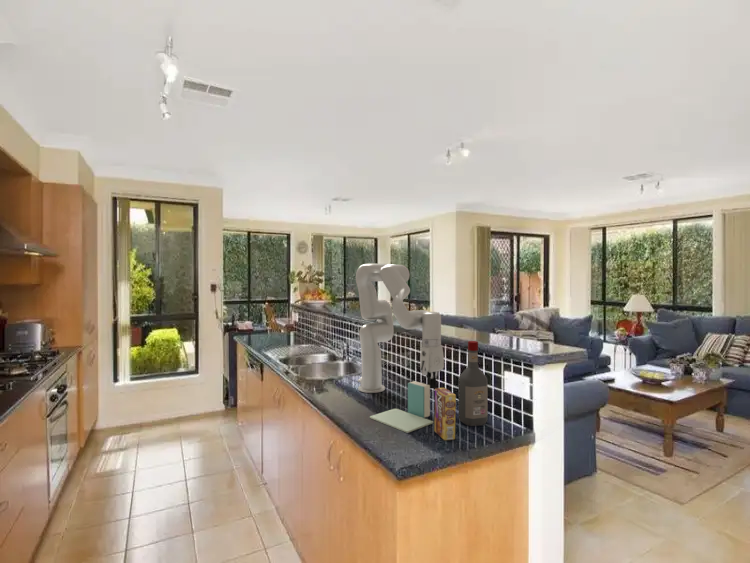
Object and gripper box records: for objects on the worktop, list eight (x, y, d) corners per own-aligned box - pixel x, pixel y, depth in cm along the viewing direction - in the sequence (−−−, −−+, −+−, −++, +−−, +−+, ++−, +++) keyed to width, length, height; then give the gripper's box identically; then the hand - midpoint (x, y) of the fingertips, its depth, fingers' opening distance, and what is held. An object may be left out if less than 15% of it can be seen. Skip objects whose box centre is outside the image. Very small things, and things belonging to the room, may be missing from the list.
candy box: (456, 439, 137) (456, 394, 137) (444, 441, 136) (444, 395, 136) (445, 429, 146) (445, 387, 145) (434, 431, 145) (433, 388, 144)
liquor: (490, 424, 151) (490, 343, 150) (468, 427, 148) (468, 344, 147) (477, 416, 159) (477, 339, 159) (456, 418, 157) (456, 340, 156)
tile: (407, 412, 163) (407, 382, 163) (414, 410, 166) (414, 381, 166) (423, 418, 158) (422, 387, 157) (429, 415, 160) (429, 385, 160)
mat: (369, 418, 158) (369, 416, 158) (395, 409, 167) (395, 408, 167) (407, 433, 143) (407, 431, 143) (433, 423, 152) (433, 421, 152)
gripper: (426, 346, 159) (426, 393, 159) (450, 341, 169) (450, 385, 169) (412, 343, 164) (412, 389, 165) (436, 339, 174) (436, 382, 175)
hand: (431, 387), depth 167 cm, fingers closed
